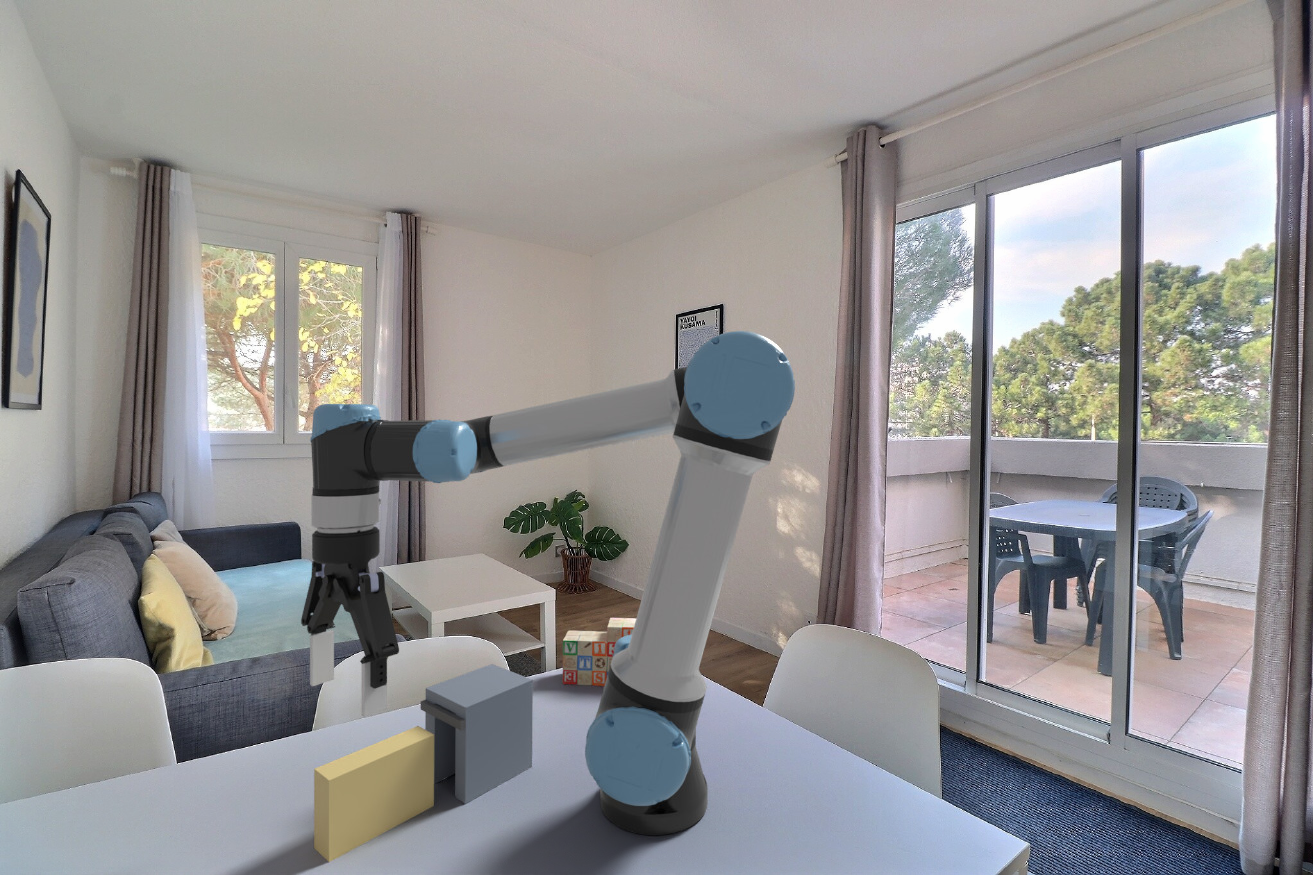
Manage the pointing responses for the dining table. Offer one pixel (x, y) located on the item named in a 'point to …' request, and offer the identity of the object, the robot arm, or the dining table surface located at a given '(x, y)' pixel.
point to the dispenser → (480, 728)
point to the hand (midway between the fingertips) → (346, 696)
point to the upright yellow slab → (372, 791)
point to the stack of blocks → (592, 652)
